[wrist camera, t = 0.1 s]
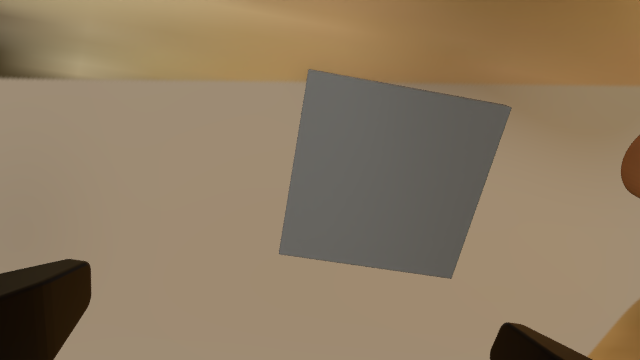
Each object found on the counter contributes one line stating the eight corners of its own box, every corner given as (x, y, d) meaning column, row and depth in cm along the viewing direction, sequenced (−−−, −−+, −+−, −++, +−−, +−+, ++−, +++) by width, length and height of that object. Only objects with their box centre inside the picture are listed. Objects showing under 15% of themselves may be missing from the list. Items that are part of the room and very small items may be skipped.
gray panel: (308, 69, 21) (308, 70, 20) (504, 104, 22) (511, 107, 21) (279, 247, 25) (278, 254, 24) (447, 271, 25) (451, 278, 25)
